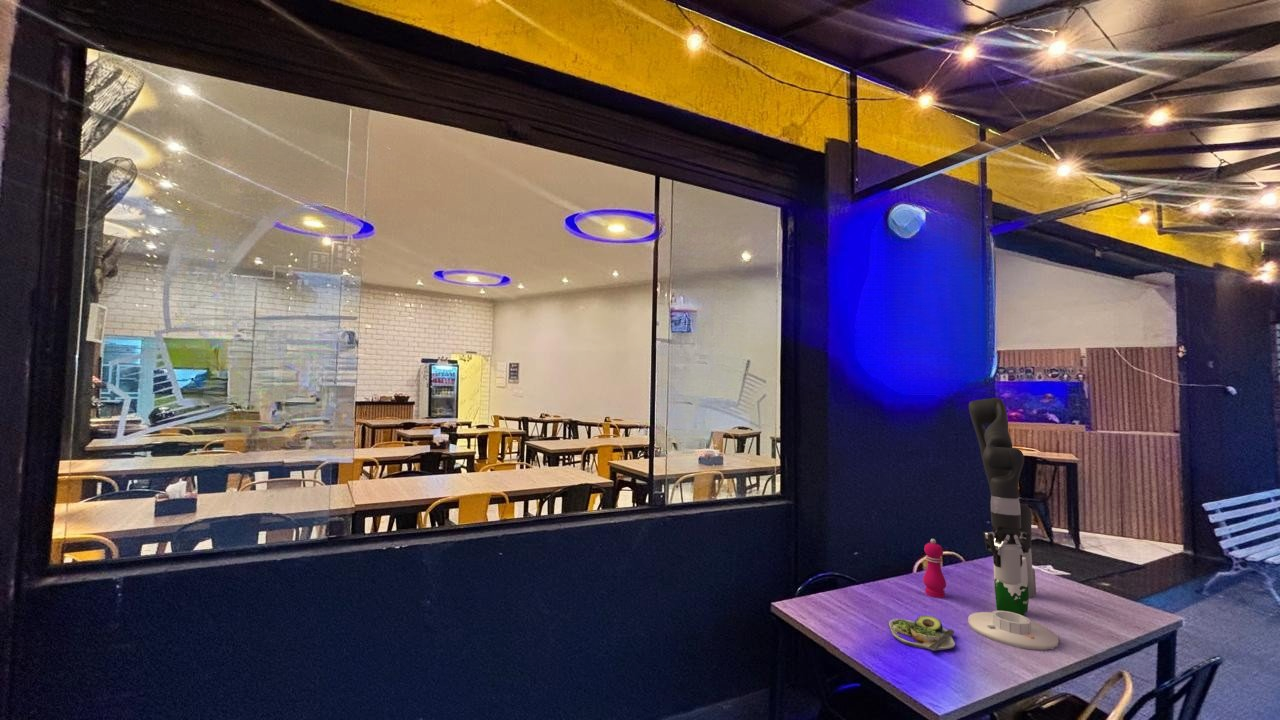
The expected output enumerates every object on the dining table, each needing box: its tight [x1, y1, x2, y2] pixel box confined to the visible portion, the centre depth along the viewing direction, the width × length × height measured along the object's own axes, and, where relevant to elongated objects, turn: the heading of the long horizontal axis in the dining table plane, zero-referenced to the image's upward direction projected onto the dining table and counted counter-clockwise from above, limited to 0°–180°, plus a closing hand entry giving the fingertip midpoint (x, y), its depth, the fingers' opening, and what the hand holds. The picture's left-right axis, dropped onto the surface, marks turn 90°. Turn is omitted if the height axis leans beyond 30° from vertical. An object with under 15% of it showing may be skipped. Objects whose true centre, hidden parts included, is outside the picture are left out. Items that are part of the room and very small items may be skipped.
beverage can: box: [995, 542, 1021, 585], centre depth 152 cm, size 6×6×12 cm
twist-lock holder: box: [967, 610, 1059, 651], centre depth 151 cm, size 22×22×4 cm
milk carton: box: [993, 557, 1030, 616], centre depth 168 cm, size 9×9×20 cm
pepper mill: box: [922, 538, 947, 599], centre depth 181 cm, size 7×7×20 cm
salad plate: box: [888, 615, 956, 652], centre depth 145 cm, size 19×18×5 cm
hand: (1008, 566), depth 152 cm, fingers closed on beverage can, 6 cm apart
